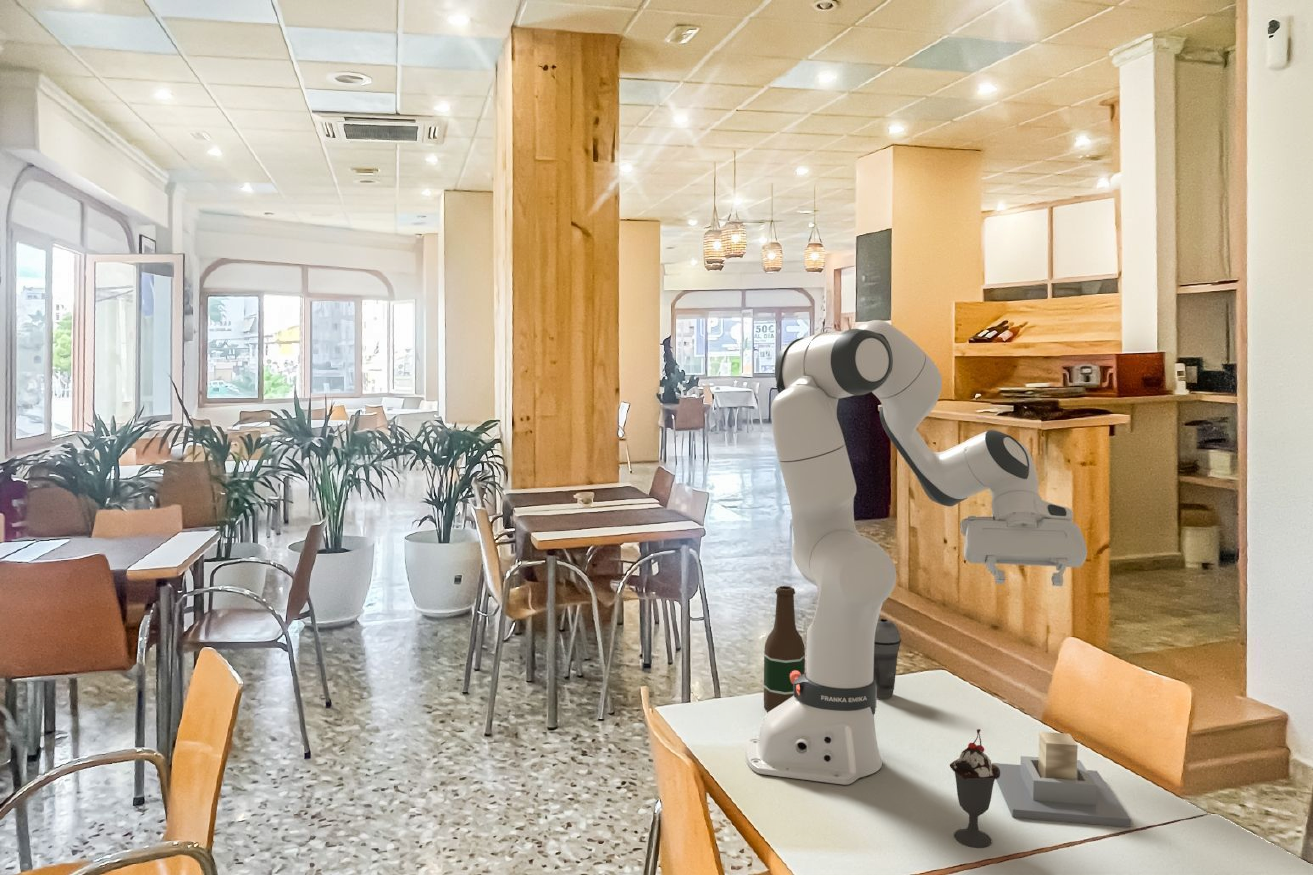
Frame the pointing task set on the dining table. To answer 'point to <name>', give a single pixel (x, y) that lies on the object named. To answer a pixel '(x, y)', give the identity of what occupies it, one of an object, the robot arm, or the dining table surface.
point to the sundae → (974, 791)
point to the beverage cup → (885, 657)
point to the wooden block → (1057, 756)
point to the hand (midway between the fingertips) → (1029, 583)
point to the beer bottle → (782, 651)
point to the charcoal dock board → (1059, 795)
